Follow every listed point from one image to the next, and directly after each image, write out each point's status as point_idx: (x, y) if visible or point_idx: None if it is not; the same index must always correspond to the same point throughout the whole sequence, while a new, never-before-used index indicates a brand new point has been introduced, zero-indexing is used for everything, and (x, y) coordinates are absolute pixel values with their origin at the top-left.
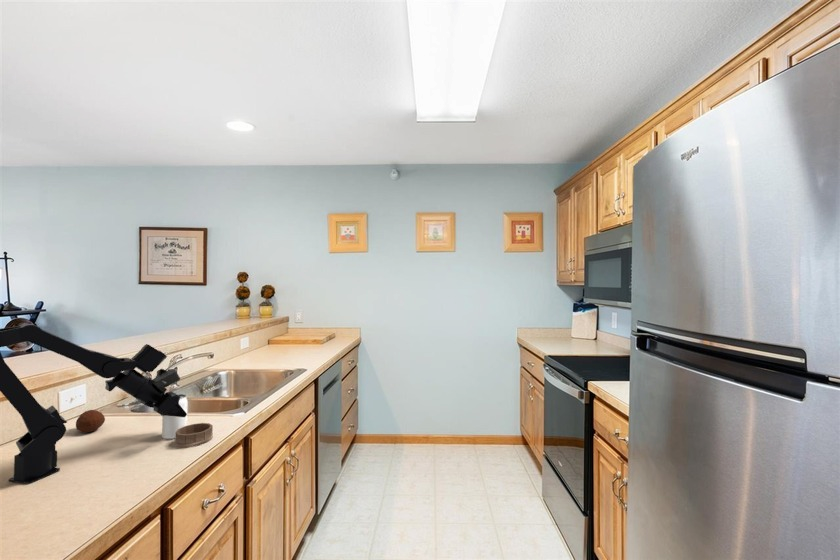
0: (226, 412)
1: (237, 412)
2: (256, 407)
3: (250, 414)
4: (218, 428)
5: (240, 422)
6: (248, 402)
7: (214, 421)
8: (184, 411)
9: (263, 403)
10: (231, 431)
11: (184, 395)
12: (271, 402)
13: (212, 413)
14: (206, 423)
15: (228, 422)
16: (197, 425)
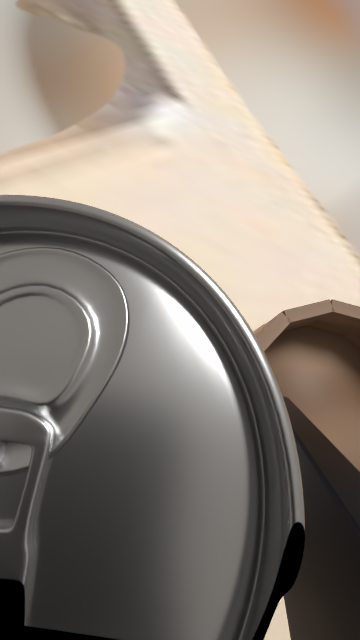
0: (93, 122)
1: (142, 107)
2: (166, 52)
3: (219, 105)
4: (253, 254)
5: (271, 174)
6: (77, 26)
7: (147, 207)
8: (326, 441)
9: (151, 19)
10: (343, 253)
11: (46, 218)
12: (171, 5)
13: (37, 149)
14: (312, 307)
15: (222, 192)
16: (271, 342)
